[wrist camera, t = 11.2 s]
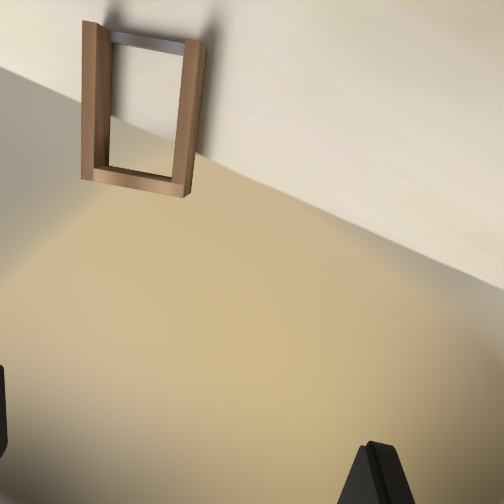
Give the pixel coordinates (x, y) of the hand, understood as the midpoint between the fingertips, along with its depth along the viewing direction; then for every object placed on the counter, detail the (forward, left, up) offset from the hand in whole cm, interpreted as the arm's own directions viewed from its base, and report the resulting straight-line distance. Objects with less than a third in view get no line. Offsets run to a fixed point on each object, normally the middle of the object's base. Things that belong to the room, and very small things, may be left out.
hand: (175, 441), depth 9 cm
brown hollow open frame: (+12, -7, -28) cm, 31 cm away
